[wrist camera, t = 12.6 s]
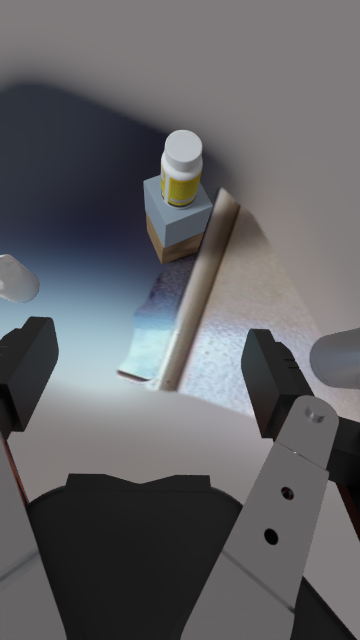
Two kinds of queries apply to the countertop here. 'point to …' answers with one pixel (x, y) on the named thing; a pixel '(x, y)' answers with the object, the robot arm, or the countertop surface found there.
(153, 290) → the countertop surface
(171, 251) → the walnut block
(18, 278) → the white bottle
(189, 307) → the countertop surface
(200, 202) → the slate block
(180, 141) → the supplement bottle
